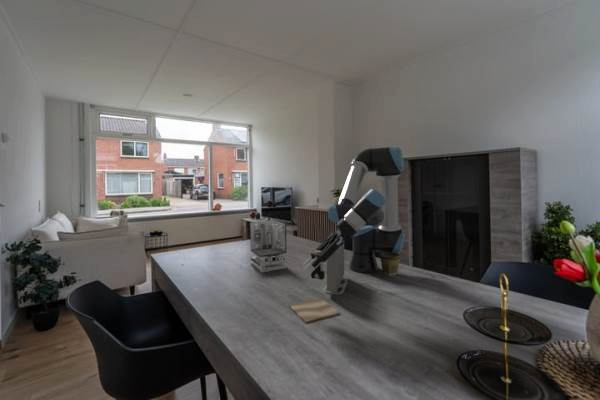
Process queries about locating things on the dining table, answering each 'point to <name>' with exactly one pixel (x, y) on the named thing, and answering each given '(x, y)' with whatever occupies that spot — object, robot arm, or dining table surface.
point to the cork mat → (314, 310)
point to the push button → (318, 272)
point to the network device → (335, 272)
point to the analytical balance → (268, 245)
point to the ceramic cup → (390, 263)
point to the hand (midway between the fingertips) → (306, 269)
